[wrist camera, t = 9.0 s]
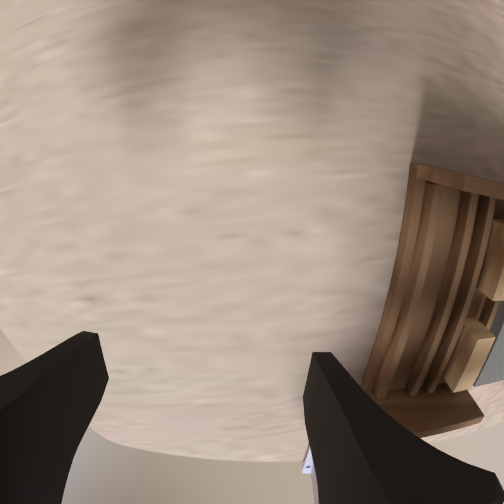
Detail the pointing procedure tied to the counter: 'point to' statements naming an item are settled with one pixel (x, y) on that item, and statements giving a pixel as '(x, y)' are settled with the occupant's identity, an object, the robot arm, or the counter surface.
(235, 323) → the counter surface
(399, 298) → the rack
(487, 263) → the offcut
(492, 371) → the mat
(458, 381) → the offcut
